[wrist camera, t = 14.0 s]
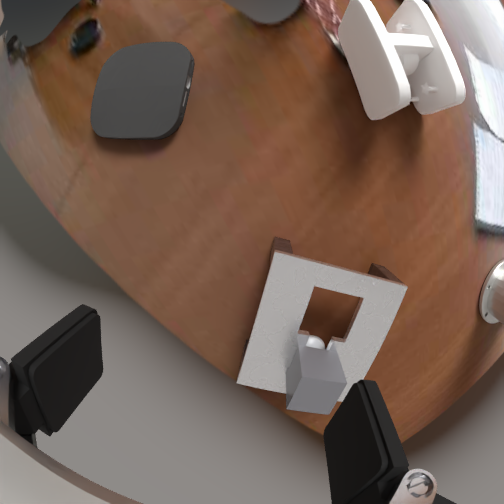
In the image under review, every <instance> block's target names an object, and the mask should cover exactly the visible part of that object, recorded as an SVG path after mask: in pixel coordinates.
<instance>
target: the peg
mask: <svg viewBox="0 0 504 504" xmlns="http://www.w3.org/2000/svg"><path fill="white" fill-rule="evenodd" d="M346 385H347V381H346V377H345V374H344V371H343V368H342V365H341V362H340V359H339V356H338V352H335V351H330V350H326V348H325V345H324V342H323V340H322V339H321V338H319V337H317V336H314V335H310V336H309V339H308V341H307V344H306V346H303V345H299V344H298V346H297V349H296V351H295V354H294V356H293V359H292V361H291V364H290V366H289V369H288V371H287V373H286V409H289V410H296V411H303V412H310V413H319V414H328V415H329V413H330V412H331V410H332V409H333V407H334V405H335V404H336V402H337V400H338V399H339V397H340V395H341V394H342V392H343V390H344V388H345V387H346Z"/></svg>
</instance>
